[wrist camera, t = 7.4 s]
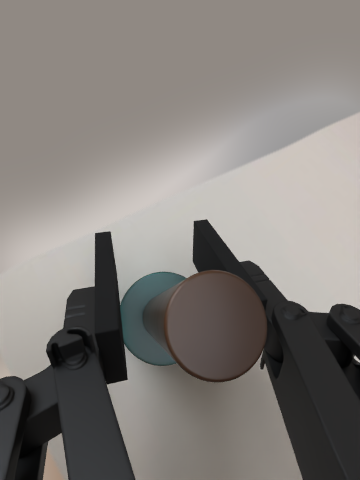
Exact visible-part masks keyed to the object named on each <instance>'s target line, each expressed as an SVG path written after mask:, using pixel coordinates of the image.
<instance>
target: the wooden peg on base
mask: <svg viewBox="0 0 360 480" xmlns="http://www.w3.org/2000/svg"><path fill="white" fill-rule="evenodd" d="M120 310H121V320H122V329H123V339H124V344H125V345H126V347H127V348H128V350H129V351H130V352H131V353H132V354H133V355H134V356H136V357H137V358H138V359H140V360H142V361H144V362H146V363H148V364H152V365H158V366H167V365H173V364H176V363H177V364H178V365H179V366H180V367H181V368H182V369H183V370H184V371H186V372H187V373H188V374H190V375H191V376H193V377H195V378H197V379H200V380H203V381H206V382H213V383H220V382H227V381H231V380H234V379H236V378H238V377H240V376H242V375H243V374H245V373H246V372H247V371H248V370H250V369H251V368H252V367H253V366H254V364H255V363H256V362H257V360H258V359H259V357H260V355H261V353H262V351H263V349H264V346H265V343H266V337H267V318H266V313H265V310H264V307H263V304H262V302H261V300H260V298H259V297H258V295H257V294H256V292H255V291H254V290H253V288H252V287H251V286H250V285H249V284H248V283H247V282H245V281H244V280H243V279H241V278H240V277H238V276H236V275H234V274H232V273H229V272H226V271H220V270H208V271H203V272H199V273H196V274H194V275H192V276H190V277H188V278H185V277H183V276H181V275H179V274H175V273H171V272H156V273H152V274H149V275H146V276H144V277H143V278H141V279H139V280H138V281H136V282H135V283H134V284H133V285H132V286H131V287H130V288H129V290H128V291H127V292H126V294H125V295H124V297H123V299H122V302H121V305H120Z"/></svg>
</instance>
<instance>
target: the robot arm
mask: <svg viewBox="0 0 360 480" xmlns="http://www.w3.org/2000/svg"><path fill="white" fill-rule="evenodd" d="M193 263H194V265H195V267H196V269H197V271H198V272H203V271H208V270H220V271H226V272H229V273H232V274H234V275H236V276H238V277H240V278H241V279H243V280H244V281H245V282H247V283H248V284H249V285H250V286H251V287H252V288H253V290H254V291H255V292H256V294H257V295H258V297H259V298H260V300H261V302H262V304H263V307H264V310H265V313H266V318H267V337H266V343H265V346H264V350H263V354H262V358H261V363H260V369H263V368H264V365H265V364H266V367H267V370H268V373H269V376H270V379H271V382H272V386H273V389H274V392H275V395H276V398H277V401H278V404H279V407H280V410H281V413H282V416H283V420H284V423H285V426H286V429H287V432H288V435H289V438H290V441H291V444H292V447H293V450H294V453H295V457H296V460H297V463H298V466H299V469H300V472H301V475H302V478H303V480H360V363H359V362H358V361H356V360H355V359H354V356H356V357H357V358H358V359H359V360H360V310H359V309H358V308H355V307H353V306H351V305H346V304H336V305H334V306H332V308H331V310H330V312H329V313H317V312H308V311H307V310H306V309H305V308H304V307H303V306H301V305H300V304H298V303H295V302H292V301H287V299H286V298H285V297H284V296H283V295H282V293H281V292H280V291H279V290H278V289H277V288H276V286H275V285H274V284H273V283H272V282H271V280H269V278H268V277H267V276H266V275H265V274H264V272H263V271H262V270H261V269H260V267H259V266H257V265H256V264H254V263H252V262H251V261H244V262H239V261H238V260H237V259H236V257H235V256H234V255H233V253H232V252H231V251H230V249H229V248H228V247H227V245H226V244H225V243H224V241H223V240H222V239H221V237H220V236H219V235H218V234H217V232H216V231H215V230H214V228H213V227H212V226H211V224H210V223H209V222H208V220H199V221H194V235H193ZM46 352H47V355H48V358H49V360H50V363H51V365H50V366H49V367H47V368H46V369H45V370H43V371H41V372H40V373H38V374H36V375H34V376H32V377H30V378H28V379H26V380H24V381H23V380H22V379H21V378H18V377H16V376H10V377H4V378H1V379H0V480H43V473H44V466H45V459H46V452H47V445H48V441H49V440H51V439H52V438H54V437H56V436H57V435H59V434H60V433H62V436H63V443H64V450H65V458H66V465H67V472H68V479H69V480H135V476H134V473H133V470H132V467H131V463H130V460H129V457H128V454H127V450H126V447H125V444H124V441H123V437H122V434H121V431H120V428H119V424H118V421H117V418H116V414H115V411H114V408H113V405H112V401H111V398H110V395H109V392H108V388H107V385H106V384H111V383H116V382H120V381H124V380H128V378H127V368H126V359H125V349H124V339H123V329H122V320H121V310H120V300H119V290H118V281H117V272H116V265H115V259H114V252H113V245H112V239H111V232H110V231H109V232H101V233H95V287H88V288H82V289H76V290H73V291H72V293H71V294H70V296H69V297H68V299H67V304H66V312H65V320H64V327H63V329H62V330H60V331H58V332H57V333H56V334H55V335H54V336H52V337H51V339H50V341H49V342H48V344H47V349H46Z"/></svg>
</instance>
